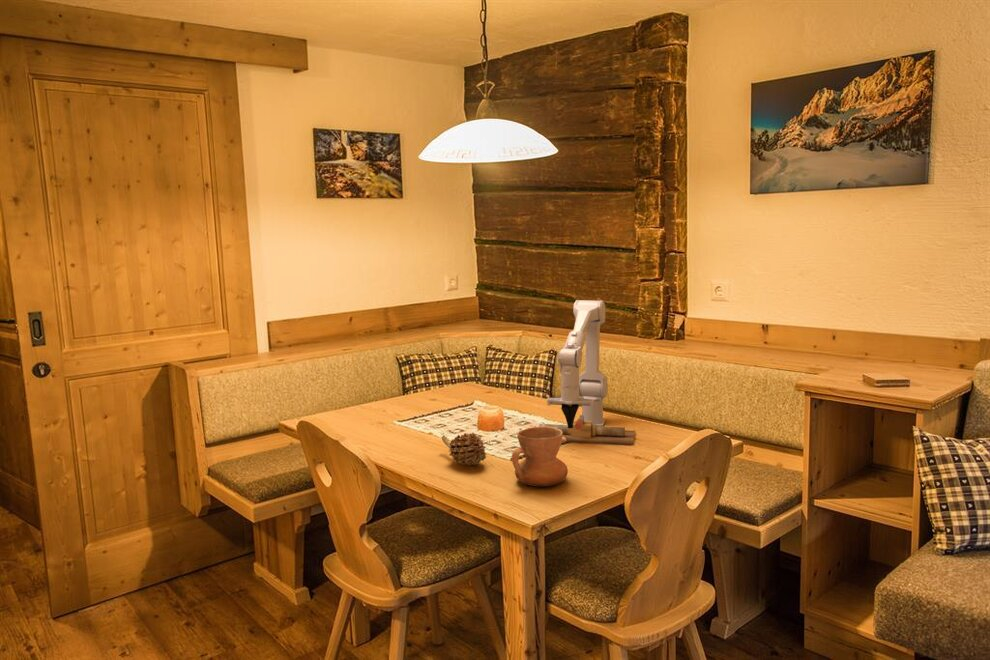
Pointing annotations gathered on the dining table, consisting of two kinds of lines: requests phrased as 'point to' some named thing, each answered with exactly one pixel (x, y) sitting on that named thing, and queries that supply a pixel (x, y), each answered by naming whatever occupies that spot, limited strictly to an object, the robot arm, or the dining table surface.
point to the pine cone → (466, 449)
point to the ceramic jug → (539, 457)
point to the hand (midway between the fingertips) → (570, 427)
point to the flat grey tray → (595, 434)
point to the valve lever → (579, 422)
